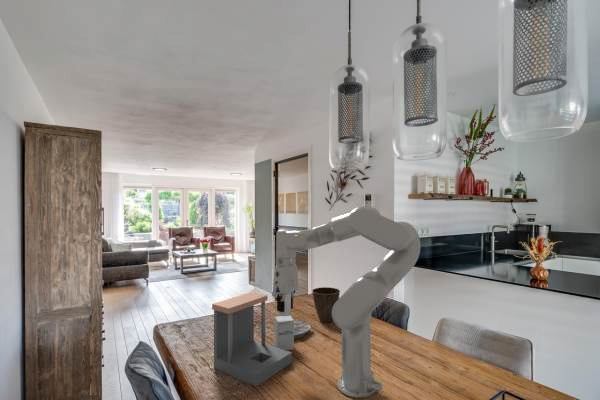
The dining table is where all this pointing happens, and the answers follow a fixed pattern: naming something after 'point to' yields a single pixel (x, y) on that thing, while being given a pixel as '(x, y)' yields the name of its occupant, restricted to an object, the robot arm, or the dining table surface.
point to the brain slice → (300, 328)
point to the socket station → (244, 341)
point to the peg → (286, 305)
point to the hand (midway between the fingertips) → (285, 309)
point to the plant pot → (325, 302)
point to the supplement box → (284, 332)
